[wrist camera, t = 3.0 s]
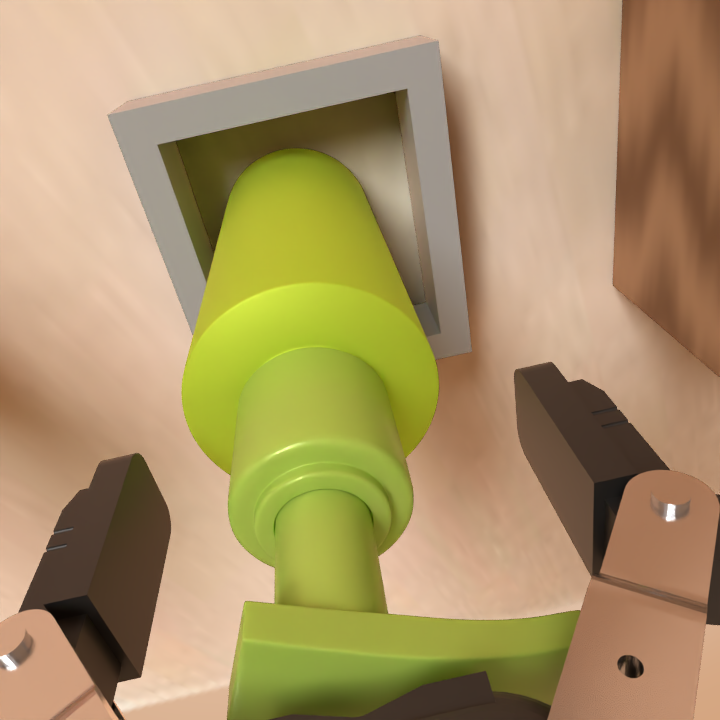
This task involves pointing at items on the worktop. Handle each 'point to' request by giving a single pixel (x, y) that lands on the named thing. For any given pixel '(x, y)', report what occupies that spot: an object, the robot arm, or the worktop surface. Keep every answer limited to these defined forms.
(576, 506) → the robot arm
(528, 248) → the worktop surface
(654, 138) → the raised socket
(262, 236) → the soap dispenser
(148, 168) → the low socket
